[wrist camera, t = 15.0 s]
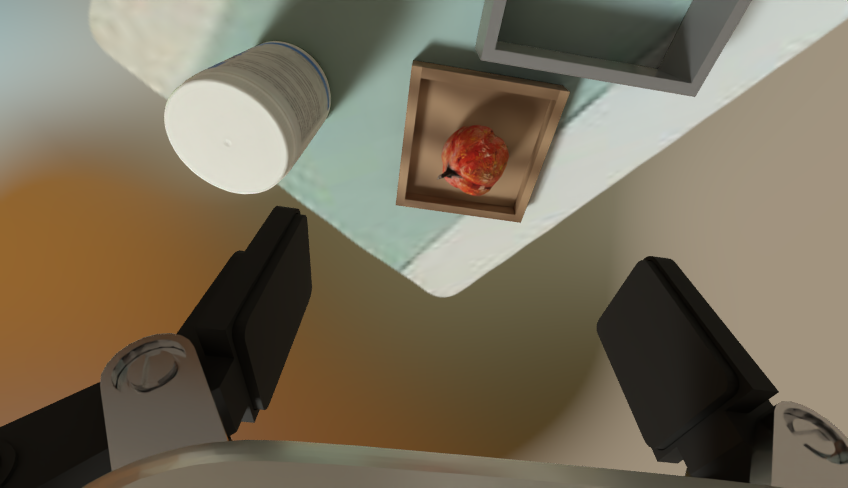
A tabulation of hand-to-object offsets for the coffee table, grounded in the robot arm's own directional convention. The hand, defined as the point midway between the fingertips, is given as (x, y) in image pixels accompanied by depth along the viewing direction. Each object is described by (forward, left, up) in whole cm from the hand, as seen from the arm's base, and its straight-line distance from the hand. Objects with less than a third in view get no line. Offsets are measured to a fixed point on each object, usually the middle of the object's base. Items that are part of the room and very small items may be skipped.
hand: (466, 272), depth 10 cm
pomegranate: (+9, +5, -32) cm, 34 cm away
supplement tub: (+6, -16, -33) cm, 37 cm away
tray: (+9, +5, -33) cm, 35 cm away
